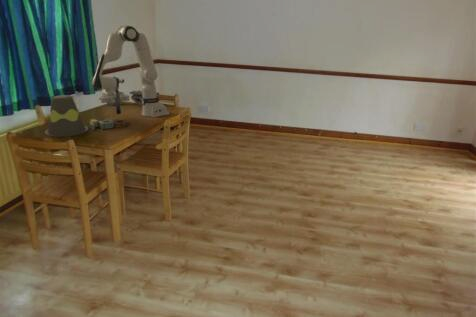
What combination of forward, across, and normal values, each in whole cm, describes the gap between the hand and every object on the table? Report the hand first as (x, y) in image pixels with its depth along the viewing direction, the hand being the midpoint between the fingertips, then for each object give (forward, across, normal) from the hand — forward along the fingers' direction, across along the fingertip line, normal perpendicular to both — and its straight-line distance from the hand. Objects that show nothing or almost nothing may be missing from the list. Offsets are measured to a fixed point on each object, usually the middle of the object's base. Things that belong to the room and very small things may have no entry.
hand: (118, 100), depth 264 cm
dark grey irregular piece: (-59, +42, +19) cm, 74 cm away
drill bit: (-1, 0, +10) cm, 10 cm away
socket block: (-1, -12, +18) cm, 22 cm away
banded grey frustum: (-5, -35, +19) cm, 40 cm away
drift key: (-7, -16, +18) cm, 26 cm away
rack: (-1, 0, +18) cm, 18 cm away
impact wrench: (-69, +17, +19) cm, 73 cm away
